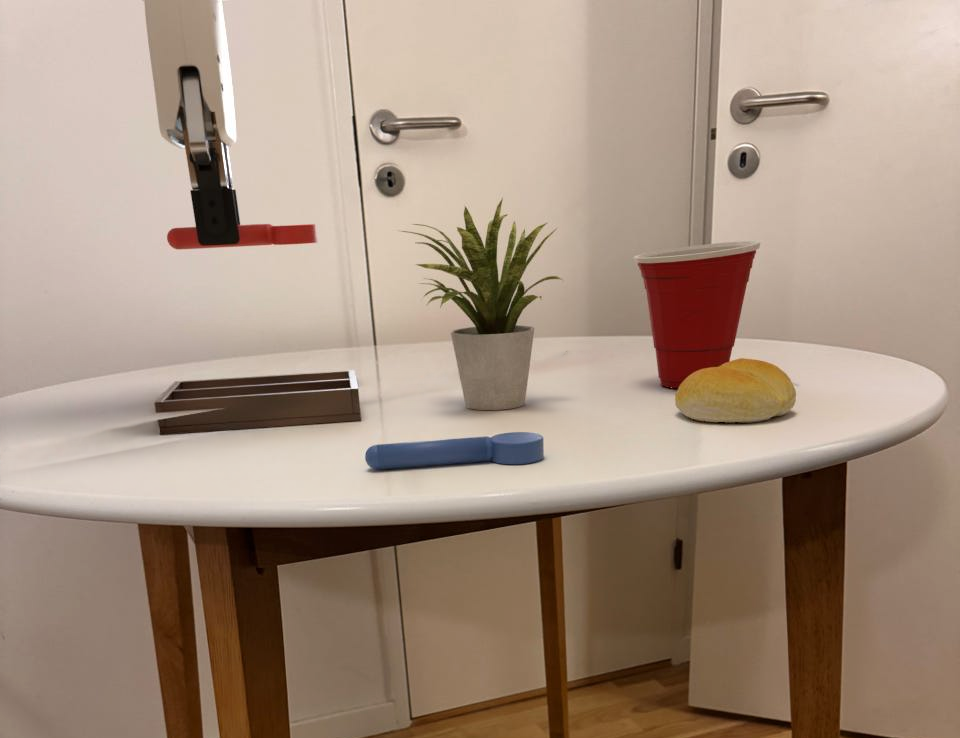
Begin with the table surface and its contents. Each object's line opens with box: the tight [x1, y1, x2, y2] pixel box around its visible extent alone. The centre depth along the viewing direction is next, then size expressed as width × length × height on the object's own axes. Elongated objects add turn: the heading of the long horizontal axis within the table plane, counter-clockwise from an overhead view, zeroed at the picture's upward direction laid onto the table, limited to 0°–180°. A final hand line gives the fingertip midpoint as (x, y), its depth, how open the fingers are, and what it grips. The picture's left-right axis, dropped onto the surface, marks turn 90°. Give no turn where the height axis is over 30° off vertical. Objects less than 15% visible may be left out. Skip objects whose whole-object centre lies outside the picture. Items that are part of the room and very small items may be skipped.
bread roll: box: [674, 357, 797, 424], centre depth 72 cm, size 8×9×4 cm
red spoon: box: [166, 223, 318, 251], centre depth 76 cm, size 12×4×2 cm, turn 98°
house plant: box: [396, 196, 563, 411], centre depth 79 cm, size 14×14×16 cm
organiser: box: [153, 369, 362, 436], centre depth 81 cm, size 16×11×3 cm
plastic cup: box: [632, 240, 761, 389], centre depth 84 cm, size 11×11×12 cm
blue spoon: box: [364, 431, 545, 470], centre depth 62 cm, size 12×4×2 cm, turn 99°
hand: (221, 242), depth 76 cm, fingers closed on red spoon, 1 cm apart
